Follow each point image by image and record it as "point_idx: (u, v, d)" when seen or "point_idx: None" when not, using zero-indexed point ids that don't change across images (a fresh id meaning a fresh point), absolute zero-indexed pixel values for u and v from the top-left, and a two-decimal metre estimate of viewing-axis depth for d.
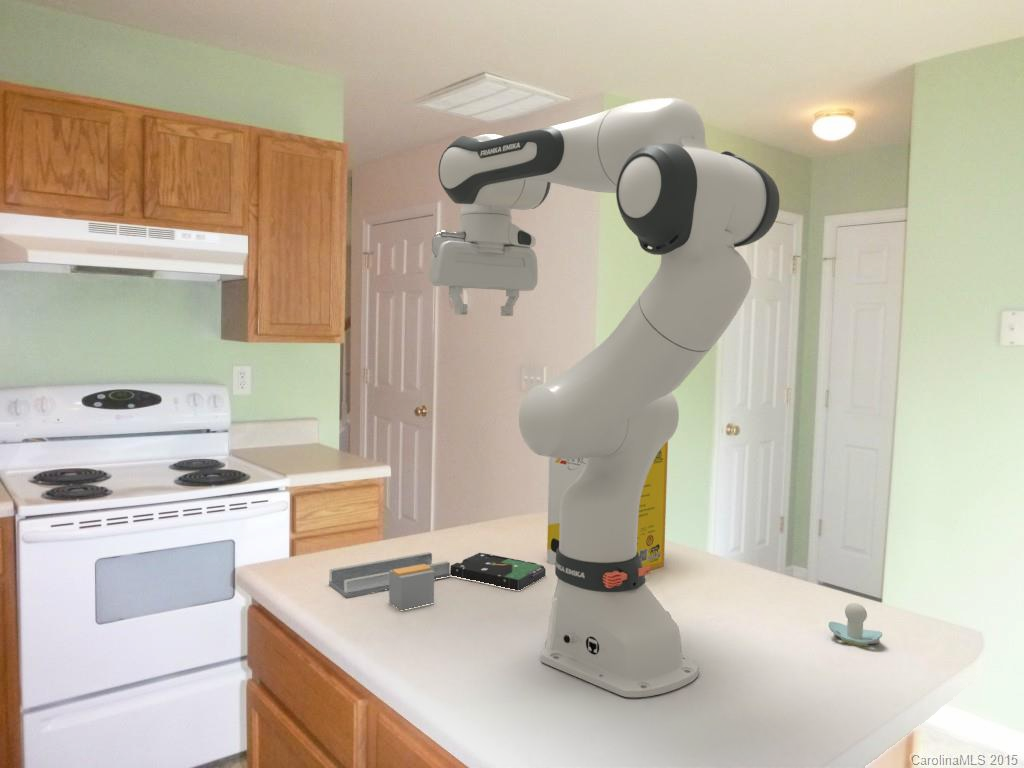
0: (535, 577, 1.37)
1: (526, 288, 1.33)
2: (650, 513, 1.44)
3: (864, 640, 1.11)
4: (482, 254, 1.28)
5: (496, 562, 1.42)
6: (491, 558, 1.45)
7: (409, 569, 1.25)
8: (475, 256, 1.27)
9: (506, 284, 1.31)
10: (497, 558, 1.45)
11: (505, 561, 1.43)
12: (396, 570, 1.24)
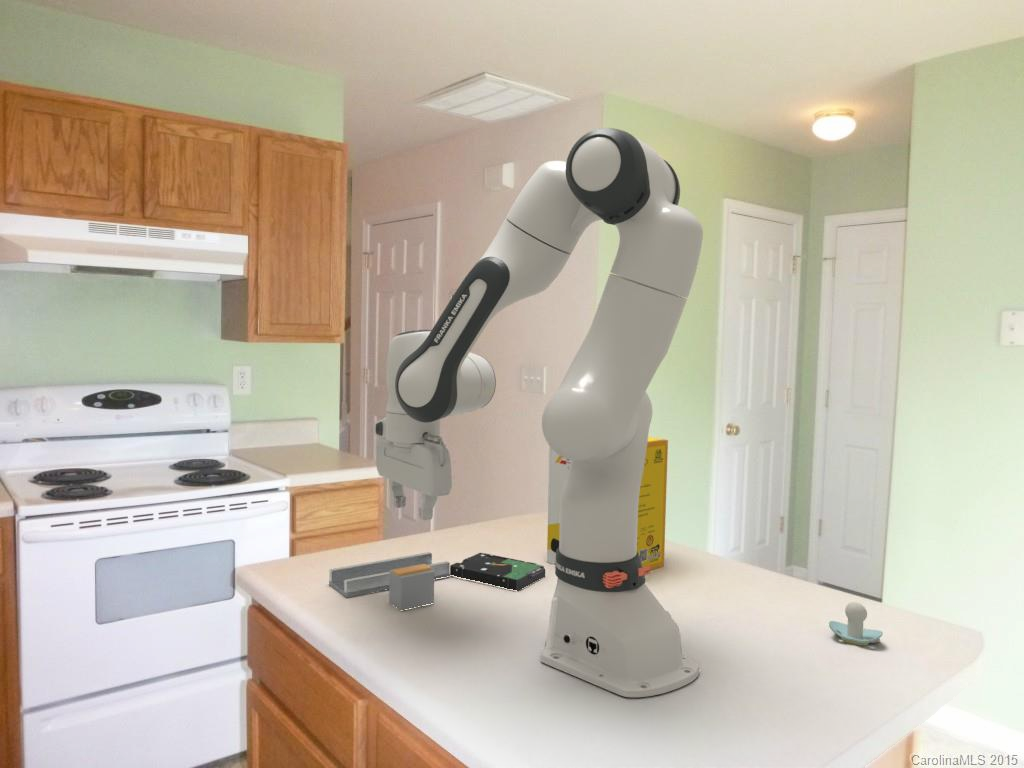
0: (534, 577, 1.37)
1: None
2: (650, 513, 1.44)
3: (864, 639, 1.11)
4: None
5: (495, 562, 1.42)
6: (491, 558, 1.45)
7: (409, 569, 1.25)
8: None
9: None
10: (497, 558, 1.45)
11: (505, 561, 1.43)
12: (396, 570, 1.24)
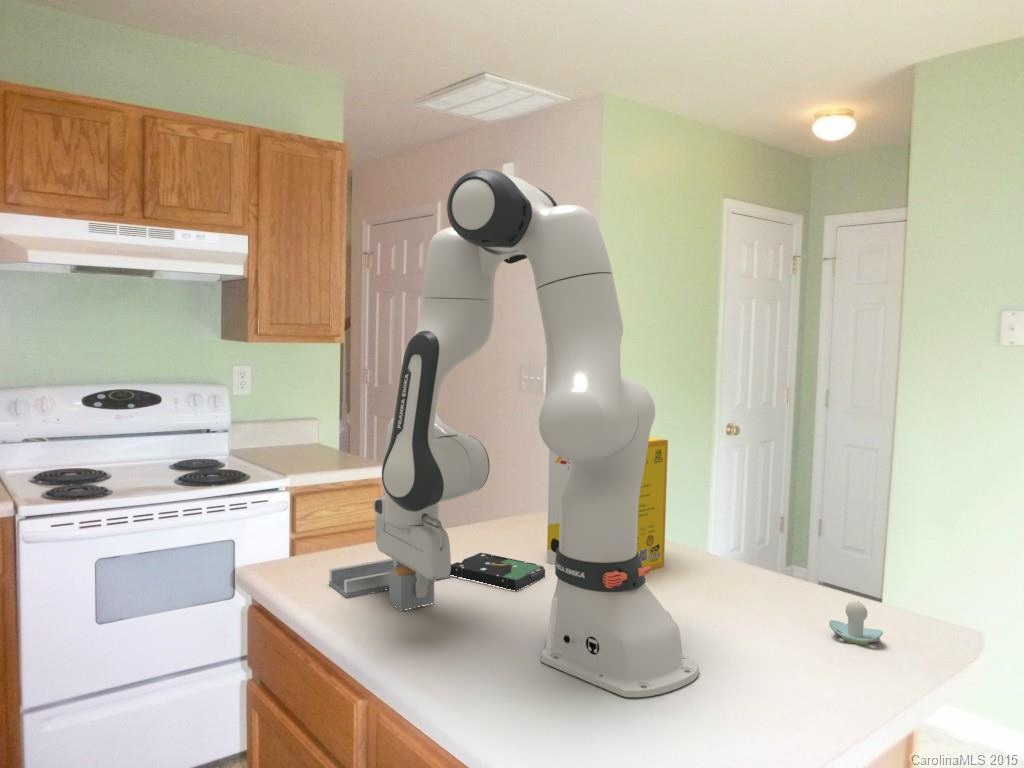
0: (534, 578, 1.37)
1: None
2: (650, 513, 1.44)
3: (864, 638, 1.12)
4: None
5: (495, 562, 1.42)
6: (491, 558, 1.45)
7: (409, 569, 1.25)
8: None
9: None
10: (497, 558, 1.45)
11: (505, 561, 1.43)
12: (396, 570, 1.24)
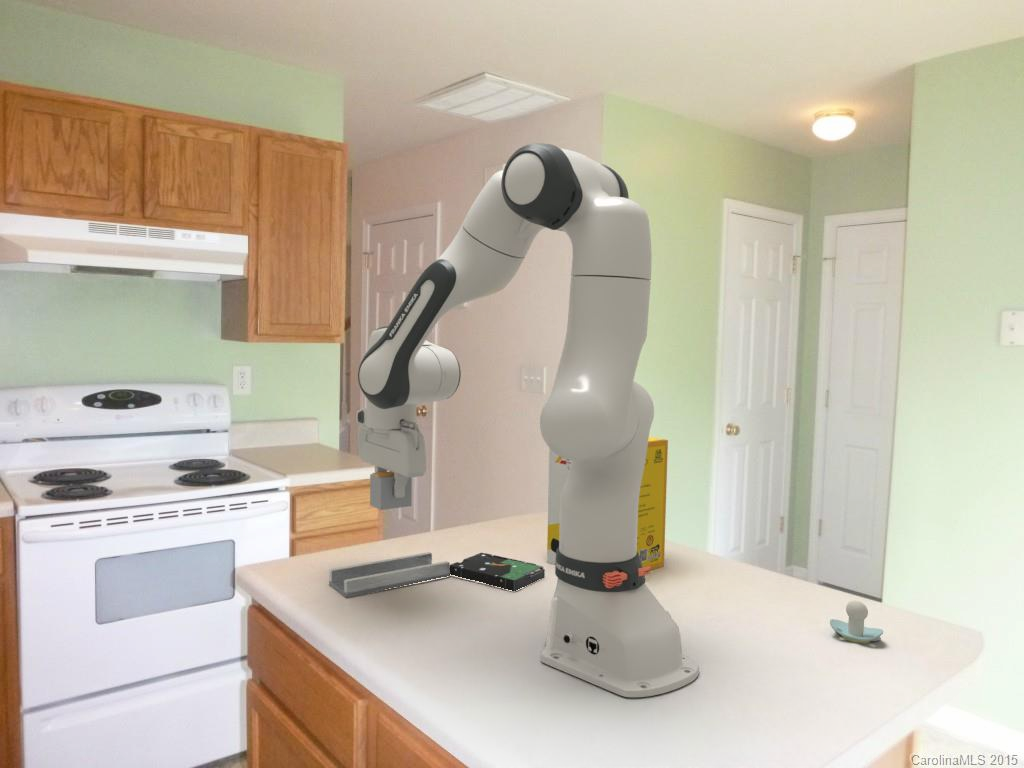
0: (533, 578, 1.37)
1: None
2: (650, 513, 1.44)
3: (865, 637, 1.12)
4: None
5: (495, 562, 1.42)
6: (492, 558, 1.45)
7: (388, 472, 1.35)
8: None
9: None
10: (498, 558, 1.45)
11: (505, 561, 1.43)
12: (376, 473, 1.34)
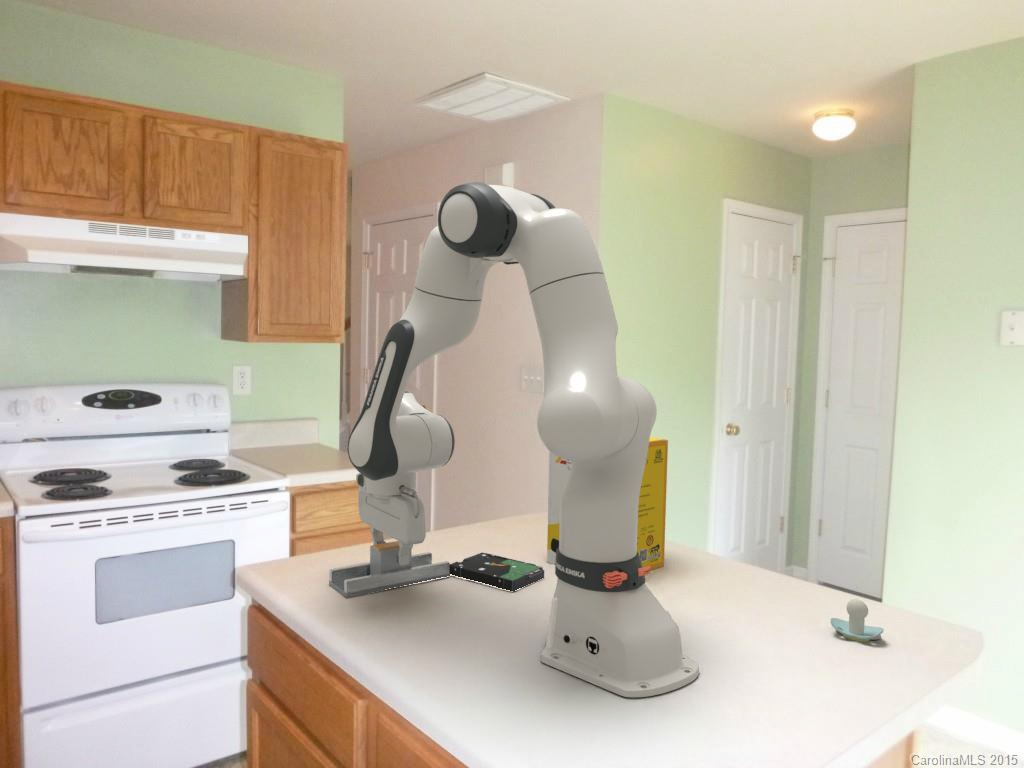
0: (532, 578, 1.37)
1: None
2: (650, 513, 1.44)
3: (865, 636, 1.13)
4: None
5: (495, 562, 1.42)
6: (492, 558, 1.45)
7: (388, 544, 1.36)
8: None
9: None
10: (498, 558, 1.45)
11: (505, 561, 1.43)
12: (376, 545, 1.35)
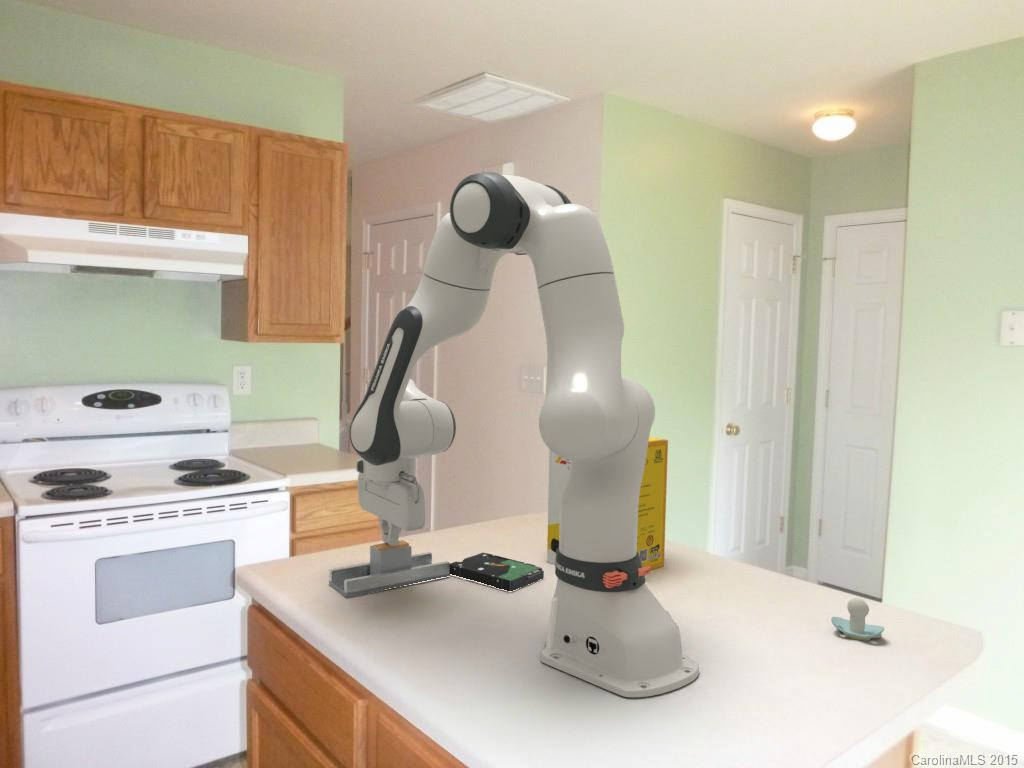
0: (531, 579, 1.36)
1: None
2: (650, 513, 1.44)
3: (866, 634, 1.13)
4: None
5: (495, 562, 1.42)
6: (493, 558, 1.45)
7: None
8: None
9: None
10: (498, 558, 1.45)
11: (505, 562, 1.42)
12: (376, 545, 1.35)
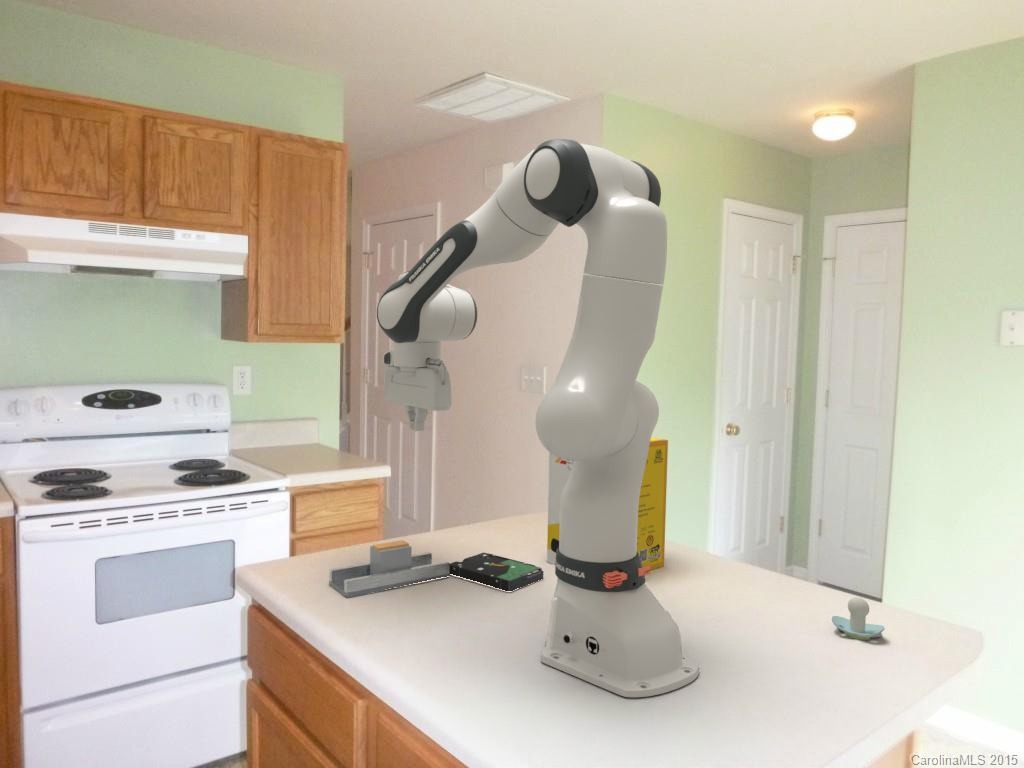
0: (530, 579, 1.36)
1: None
2: (650, 513, 1.44)
3: (866, 634, 1.14)
4: None
5: (495, 562, 1.42)
6: (493, 558, 1.45)
7: (388, 544, 1.36)
8: None
9: None
10: (499, 558, 1.45)
11: (505, 562, 1.42)
12: (376, 545, 1.35)
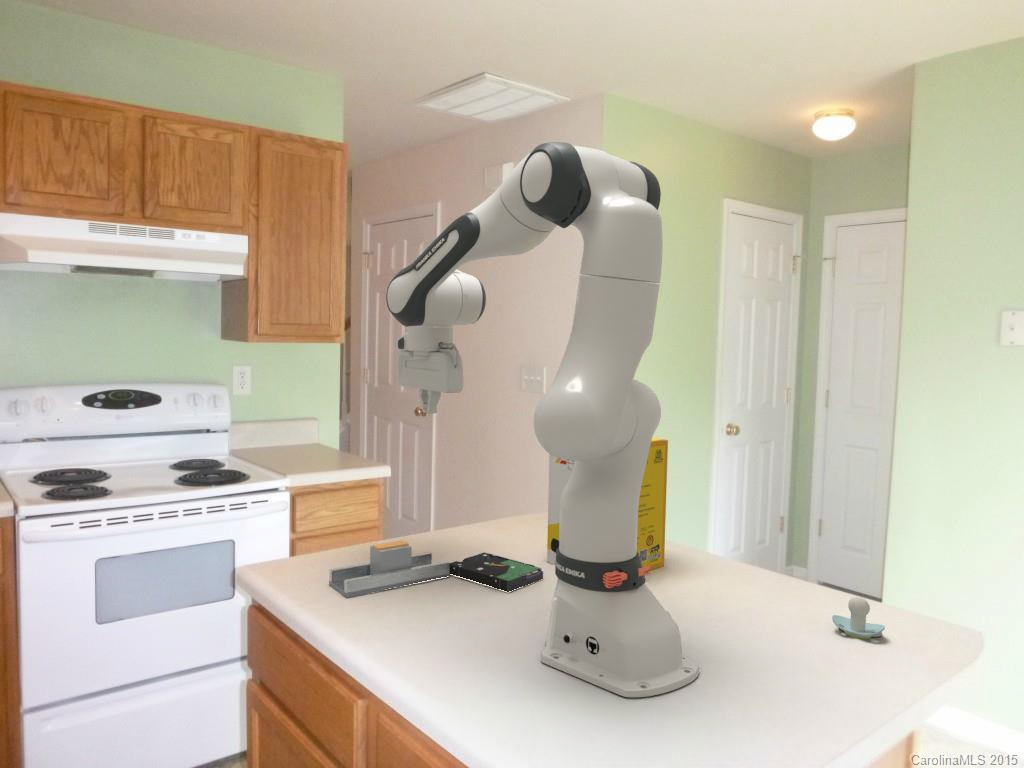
0: (529, 579, 1.36)
1: None
2: (650, 513, 1.44)
3: (867, 633, 1.14)
4: None
5: (495, 562, 1.42)
6: (493, 558, 1.45)
7: (388, 544, 1.36)
8: None
9: None
10: (499, 559, 1.45)
11: (505, 562, 1.42)
12: (376, 545, 1.35)
